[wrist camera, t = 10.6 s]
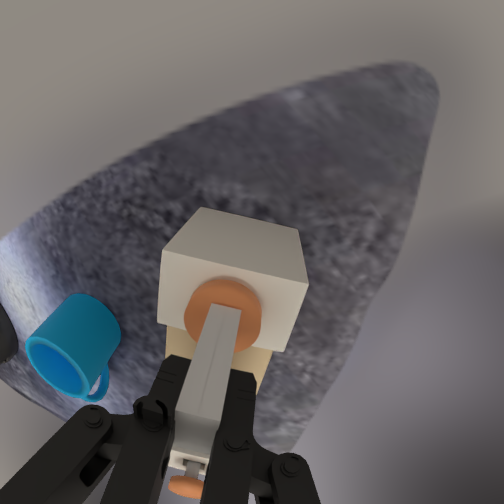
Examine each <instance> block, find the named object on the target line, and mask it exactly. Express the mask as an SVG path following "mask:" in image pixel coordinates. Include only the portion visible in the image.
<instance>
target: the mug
mask: <svg viewBox="0 0 504 504" xmlns="http://www.w3.org/2000/svg"><path fill="white" fill-rule="evenodd" d="M120 341H121V331H120V327H119V324H118V322H117V320H116V319H115V317H114V315H113V314H112V313H111V312H110V310H109V309H108V308H107V307H106V306H105V305H104V304H102V303H101V302H100V301H98V300H97V299H95V298H93V297H91V296H89V295H87V294H80V293H77V294H72V295H70V296H69V297H68V298H67V299H66V300H65V301H64V302H63V303H62V304H61V305H60V306H59V307H58V308H57V309H56V310H55V311H54V312H53V313H52V314H51V315H50V316H49V317H48V318H47V319H46V320H45V321H44V322H43V323H42V324H41V325H40V326H39V327H38V329H37V330H36V331H35V332H34V333H33V334H32V335H31V336H30V337H29V338H28V339H27V340H26V345H25V349H26V353H27V356H28V358H29V360H30V362H31V364H32V366H33V367H34V368H35V370H36V371H37V373H38V374H39V375H40V376H41V377H42V378H43V379H44V380H45V381H46V382H47V383H48V384H50V385H51V386H52V387H54V388H55V389H56V390H58V391H60V392H62V393H63V394H65V395H68V396H71V397H74V398H81V399H83V400H85V401H87V402H97V401H99V400H101V399H102V398H103V397H104V396H105V394H106V392H107V389H108V385H109V368H108V363H107V362H108V361H109V359H110V357H111V356H112V354H113V353H114V351H115V349H116V348H117V346H118V345H119V343H120ZM100 374H101V378H100V385H99V387H98V390H97V391H96V392H95V393H94V394H92V395H88V394H89V392H90V390H91V389H92V387H93V385H94V384H95V382H96V380H97V379H98V377H99V375H100Z"/></svg>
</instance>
